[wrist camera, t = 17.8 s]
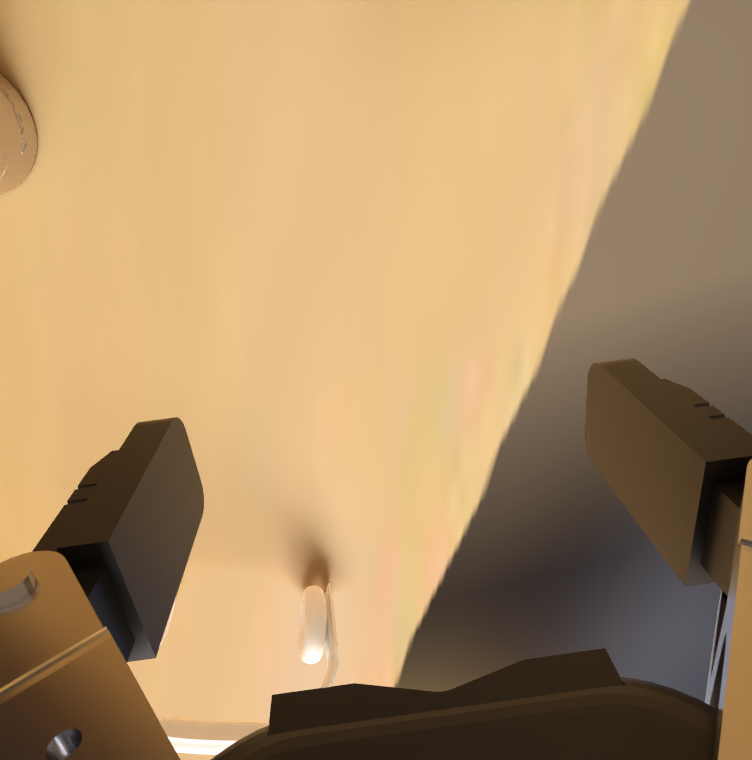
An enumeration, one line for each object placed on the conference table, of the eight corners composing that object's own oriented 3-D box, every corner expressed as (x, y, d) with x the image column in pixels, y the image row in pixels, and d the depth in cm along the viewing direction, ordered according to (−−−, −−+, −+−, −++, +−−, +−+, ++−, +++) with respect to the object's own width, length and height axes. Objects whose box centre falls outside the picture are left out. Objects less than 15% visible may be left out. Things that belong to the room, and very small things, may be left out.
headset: (342, 563, 59) (345, 729, 43) (332, 612, 62) (332, 785, 46) (146, 545, 57) (71, 715, 40) (144, 597, 59) (75, 775, 43)
